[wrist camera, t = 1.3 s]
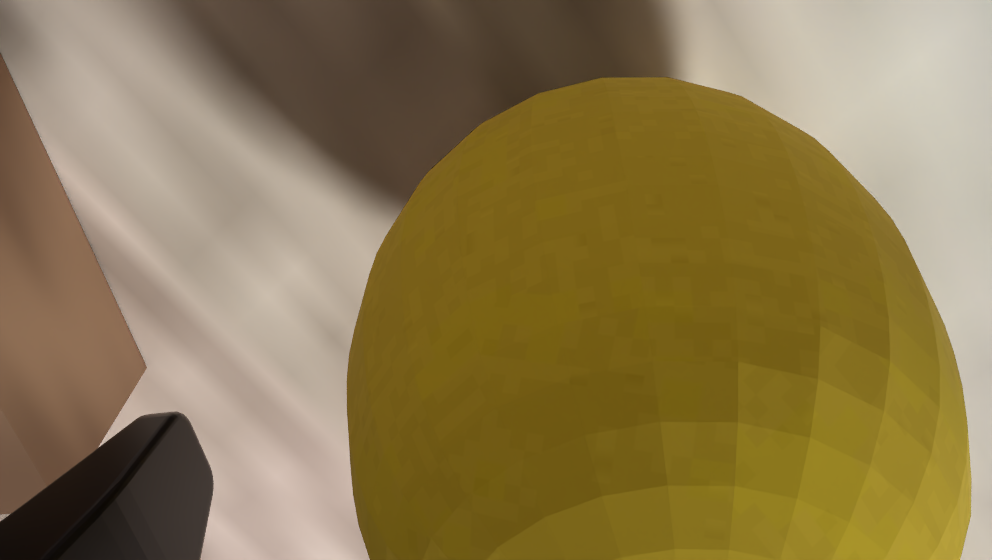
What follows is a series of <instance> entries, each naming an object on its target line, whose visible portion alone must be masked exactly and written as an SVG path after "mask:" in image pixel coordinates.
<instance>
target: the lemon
mask: <svg viewBox="0 0 992 560" xmlns="http://www.w3.org/2000/svg"><path fill="white" fill-rule="evenodd" d="M347 416H348V432H349V448H350V464H351V475H352V487H353V496H354V502H355V507H356V513H357V518H358V524H359V528H360V531H361V534H362V537H363V540H364V543H365V546H366V549H367V552H368V555H369V558H370V560H960V557H961V554H962V550H963V546H964V542H965V538H966V533H967V529H968V525H969V521H970V517H971V468H970V454H969V440H968V426H967V417H966V410H965V403H964V396H963V388H962V383H961V379H960V375H959V371H958V367H957V363H956V359H955V355H954V351H953V348H952V346H951V343H950V340H949V337H948V334H947V331H946V328H945V325H944V323H943V321H942V318H941V316H940V314H939V312H938V310H937V307H936V305H935V303H934V301H933V299H932V297H931V295H930V292H929V290H928V288H927V286H926V284H925V282H924V280H923V278H922V276H921V273H920V271H919V269H918V267H917V265H916V263H915V261H914V259H913V256H912V254H911V252H910V250H909V248H908V246H907V244H906V242H905V240H904V238H903V236H902V235H901V233H900V232H899V230H898V228H897V227H896V225H895V224H894V222H893V220H892V219H891V217H890V216H889V215H888V214H887V212H886V211H885V210H884V209H883V208H882V207H881V205H880V204H879V203H878V202H877V201H876V199H875V198H874V197H873V196H872V195H871V194H870V193H869V192H868V191H867V190H866V189H865V188H864V187H863V186H862V185H861V184H860V183H859V182H858V181H857V180H856V179H855V178H854V177H853V176H852V174H851V173H850V172H849V171H848V170H847V169H846V168H845V167H844V166H843V165H842V164H841V163H840V162H839V161H838V160H837V159H836V158H835V157H834V156H833V155H832V154H831V153H830V152H829V151H828V150H827V149H826V148H825V147H824V146H822V145H821V144H820V143H819V142H818V141H817V140H816V139H815V138H813V137H811V136H810V135H808V134H807V133H805V132H803V131H802V130H800V129H798V128H797V127H795V126H793V125H791V124H790V123H788V122H786V121H784V120H783V119H781V118H779V117H777V116H775V115H774V114H772V113H770V112H768V111H767V110H765V109H763V108H761V107H760V106H758V105H756V104H754V103H753V102H751V101H749V100H747V99H745V98H744V97H742V96H739V95H736V94H732V93H729V92H725V91H721V90H717V89H713V88H709V87H705V86H701V85H697V84H693V83H689V82H685V81H681V80H677V79H673V78H669V77H620V78H598V79H594V80H590V81H586V82H582V83H578V84H574V85H570V86H566V87H562V88H558V89H554V90H550V91H545V92H541V93H538V94H536V95H534V96H532V97H530V98H528V99H527V100H525V101H523V102H521V103H519V104H517V105H515V106H513V107H511V108H510V109H508V110H506V111H504V112H502V113H500V114H498V115H496V116H494V117H493V118H491V119H489V120H487V121H485V122H483V123H482V124H480V125H479V126H478V127H477V128H475V129H474V130H473V131H472V132H471V133H470V134H469V135H468V136H467V137H465V138H464V139H463V140H462V141H461V142H460V143H459V144H458V145H457V146H456V147H455V148H454V149H452V150H451V151H450V152H449V153H448V154H447V155H446V156H445V157H444V158H443V159H442V160H440V161H439V162H438V163H437V164H436V165H435V166H434V167H433V168H432V169H431V170H430V171H428V173H427V174H426V175H425V177H424V178H423V179H422V180H421V182H420V183H419V184H418V186H417V188H416V189H415V191H414V192H413V194H412V196H411V197H410V199H409V200H408V202H407V203H406V205H405V207H404V208H403V210H402V211H401V213H400V215H399V216H398V218H397V219H396V221H395V222H394V224H393V226H392V227H391V229H390V230H389V232H388V234H387V235H386V237H385V239H384V241H383V243H382V244H381V246H380V248H379V250H378V252H377V254H376V257H375V260H374V263H373V265H372V268H371V271H370V274H369V278H368V282H367V285H366V289H365V293H364V296H363V300H362V304H361V307H360V311H359V315H358V319H357V322H356V326H355V330H354V334H353V339H352V344H351V348H350V353H349V362H348V373H347Z"/></svg>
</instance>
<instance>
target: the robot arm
mask: <svg viewBox="0 0 992 560" xmlns="http://www.w3.org/2000/svg"><path fill="white" fill-rule="evenodd" d="M212 496H213V475H212V471H211V468H210V465H209V463H208V461H207V458H206V456H205V454H204V452H203V450H202V447H201V445H200V443H199V441H198V438H197V436H196V434H195V432H194V430H193V427H192V425H191V423H190V421H189V420H188V418H187V417H186V416H185V415H184V414H182V413H179V412H166V413H157V414H148V415H143V416H141V417H139V418H137V419H136V420H135V421H133V422H132V423H131V424H129V425H128V426H127V427H125V428H124V429H123V430H121V431H120V432H119V433H117V434H116V435H115V436H113V437H112V438H111V439H109V440H108V441H107V442H105V443H104V444H103V445H101V446H100V447H99V448H98V449H96V450H95V451H94V452H92V453H91V454H90V455H88V456H87V457H86V458H84V459H83V460H82V461H80V462H79V463H78V464H76V465H75V466H74V467H72V468H71V469H70V470H68V471H67V472H66V473H64V474H63V475H62V476H60V477H59V478H58V479H56V480H55V481H54V482H52V483H51V484H50V485H48V486H47V487H46V488H44V489H43V490H42V491H40V492H39V493H38V494H36V495H35V496H34V497H32V498H31V499H30V500H28V501H27V502H26V503H25V504H23V505H22V506H21V507H19V508H18V509H17V510H15V511H14V512H13V513H11V514H10V515H9V516H7V517H6V518H5V519H3V520H2V521H1V522H0V560H200V558H201V553H202V547H203V542H204V537H205V532H206V527H207V521H208V516H209V511H210V506H211V501H212Z"/></svg>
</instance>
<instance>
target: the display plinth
mask: <svg viewBox="0 0 992 560" xmlns="http://www.w3.org/2000/svg"><path fill="white" fill-rule="evenodd" d="M146 368H147V367H146V365H145V363H144V360H143V358H142V356H141V354H140V352H139V350H138V348H137V345H136V343H135V341H134V339H133V337H132V335H131V333H130V330H129V328H128V326H127V324H126V322H125V320H124V318H123V315H122V313H121V311H120V309H119V307H118V305H117V303H116V300H115V298H114V296H113V294H112V292H111V290H110V288H109V285H108V283H107V281H106V279H105V277H104V275H103V273H102V270H101V268H100V266H99V264H98V262H97V260H96V257H95V255H94V253H93V251H92V249H91V247H90V245H89V242H88V240H87V238H86V236H85V234H84V232H83V230H82V227H81V225H80V223H79V221H78V219H77V217H76V215H75V212H74V210H73V208H72V206H71V204H70V202H69V200H68V197H67V195H66V193H65V191H64V189H63V187H62V185H61V182H60V180H59V178H58V176H57V174H56V172H55V169H54V167H53V165H52V163H51V161H50V159H49V157H48V154H47V152H46V150H45V148H44V146H43V144H42V142H41V139H40V137H39V135H38V133H37V131H36V129H35V127H34V124H33V122H32V120H31V118H30V116H29V114H28V112H27V109H26V107H25V105H24V103H23V101H22V99H21V97H20V94H19V92H18V90H17V88H16V86H15V84H14V82H13V79H12V77H11V75H10V73H9V71H8V69H7V66H6V64H5V62H4V60H3V58H2V56H1V54H0V514H10V513H13V512H14V511H15V510H17V509H18V508H19V507H21V506H22V505H23V504H25V503H26V502H27V501H28V500H30V499H31V498H32V497H34V496H35V495H36V494H38V493H39V492H40V491H42V490H43V489H44V488H46V487H47V486H48V485H50V484H51V483H52V482H54V481H55V480H56V479H58V478H59V477H60V476H62V475H63V474H64V473H66V472H67V471H68V470H70V469H71V468H72V467H74V466H75V465H76V464H78V463H79V462H80V461H82V460H83V459H84V458H86V457H87V456H88V455H90V454H91V453H92V452H94V451H95V450H96V449H97V448H98V447H99V445H100V443H101V442H102V440H103V438H104V437H105V435H106V434H107V432H108V430H109V429H110V427H111V425H112V424H113V422H114V420H115V419H116V417H117V416H118V414H119V412H120V411H121V409H122V407H123V406H124V404H125V403H126V401H127V399H128V398H129V396H130V394H131V393H132V391H133V389H134V388H135V386H136V385H137V383H138V381H139V380H140V378H141V376H142V375H143V373H144V371H145V370H146Z"/></svg>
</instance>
